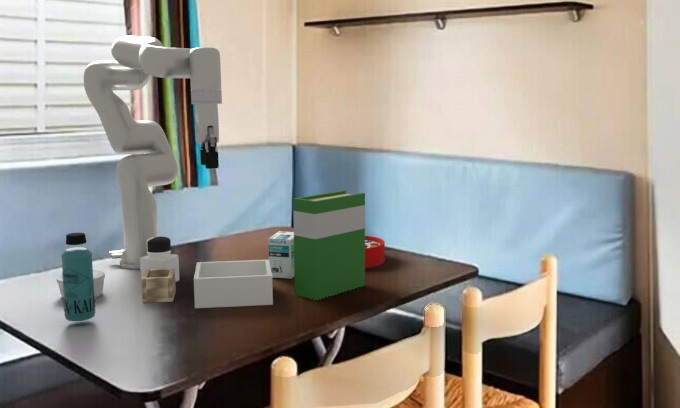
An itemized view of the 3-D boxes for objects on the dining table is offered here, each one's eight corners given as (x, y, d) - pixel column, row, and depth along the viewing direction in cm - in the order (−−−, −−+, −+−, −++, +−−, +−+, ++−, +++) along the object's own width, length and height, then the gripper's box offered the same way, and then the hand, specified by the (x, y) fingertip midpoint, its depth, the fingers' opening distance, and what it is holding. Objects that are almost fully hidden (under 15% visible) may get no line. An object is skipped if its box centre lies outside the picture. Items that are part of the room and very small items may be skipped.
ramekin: (60, 305, 173) (59, 283, 172) (55, 293, 182) (53, 272, 181) (109, 298, 178) (108, 277, 177) (101, 287, 187) (100, 267, 187)
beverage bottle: (69, 319, 162) (63, 230, 159) (100, 318, 163) (94, 229, 159) (60, 328, 156) (54, 236, 152) (92, 327, 156) (87, 236, 153)
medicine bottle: (180, 280, 193) (178, 236, 191) (162, 287, 187) (160, 241, 185) (158, 277, 196) (156, 234, 194) (140, 284, 190) (138, 239, 188)
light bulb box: (292, 279, 194) (291, 239, 192) (267, 278, 195) (267, 238, 194) (302, 269, 204) (301, 231, 203) (279, 268, 206) (278, 230, 204)
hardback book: (343, 280, 193) (343, 190, 189) (364, 285, 188) (364, 193, 184) (294, 294, 180) (293, 198, 176) (315, 300, 175) (314, 201, 171)
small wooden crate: (142, 303, 174) (141, 278, 173) (147, 292, 183) (145, 269, 182) (172, 302, 175) (171, 277, 174) (175, 291, 184) (174, 268, 183)
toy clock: (393, 247, 206) (324, 251, 201) (393, 267, 207) (324, 271, 202) (374, 233, 225) (310, 236, 221) (374, 251, 226) (310, 255, 222)
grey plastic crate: (194, 308, 169) (193, 279, 168) (198, 289, 185) (197, 262, 184) (272, 304, 172) (272, 275, 171) (269, 286, 187) (268, 259, 186)
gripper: (187, 98, 189) (190, 164, 192) (195, 98, 173) (198, 170, 176) (216, 97, 192) (219, 162, 194) (226, 98, 175) (229, 169, 178)
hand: (209, 166), depth 185 cm, fingers open, 9 cm apart
